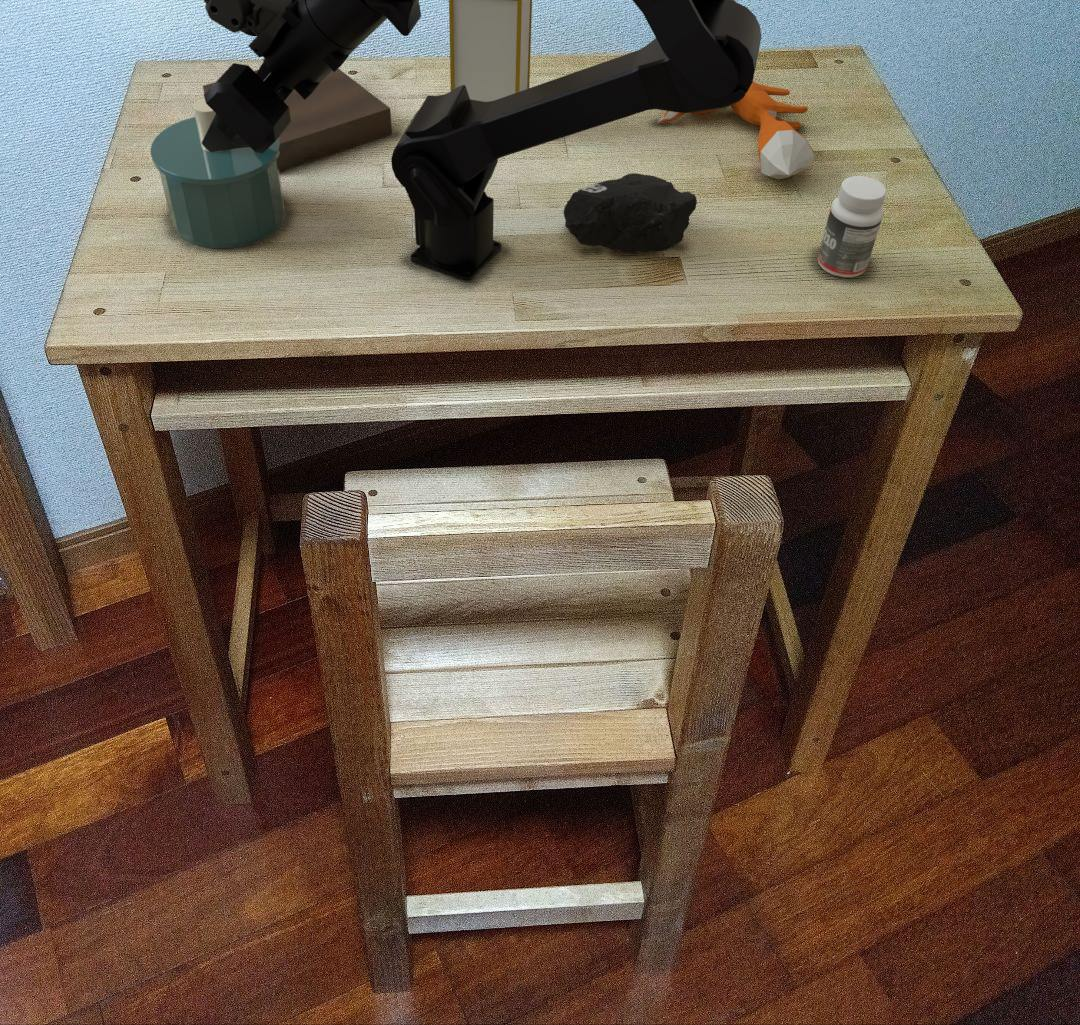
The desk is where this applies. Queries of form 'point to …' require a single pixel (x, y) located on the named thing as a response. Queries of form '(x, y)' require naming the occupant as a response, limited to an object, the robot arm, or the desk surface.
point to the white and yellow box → (490, 47)
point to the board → (330, 120)
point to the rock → (630, 214)
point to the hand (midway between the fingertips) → (228, 121)
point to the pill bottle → (852, 227)
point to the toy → (770, 131)
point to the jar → (226, 210)
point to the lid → (205, 153)
